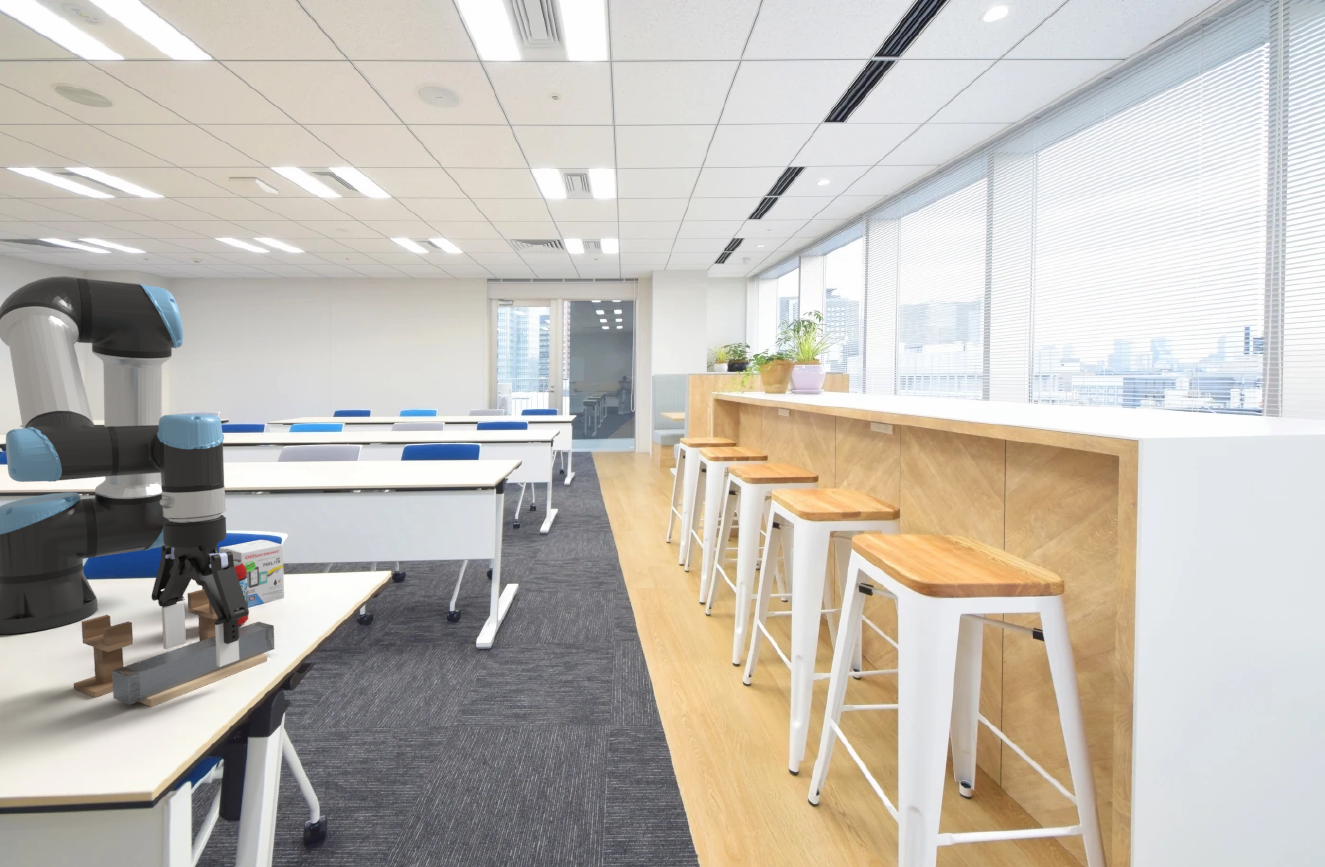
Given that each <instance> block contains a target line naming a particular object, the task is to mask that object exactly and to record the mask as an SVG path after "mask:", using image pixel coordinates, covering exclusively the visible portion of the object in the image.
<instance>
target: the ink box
mask: <svg viewBox="0 0 1325 867" xmlns="http://www.w3.org/2000/svg"><path fill="white" fill-rule="evenodd" d="M229 551H230V552H232V554H233V559H239V560H241V561H242V563H243V565H244V566H245V567H246V569H247V592H248V608H251V607H255V606H258V605H262V604H266V603H269V602H273V601H277V600H280V599H284V598H285V580H284V578H285V577H284V576H285V575H284V545H283V544H281V543H277V542H274V541H271V540H266V539H258V540H252V541H248V542H242V543H237V544H232V545H227V546H221V547H219V548H218V552H219V553H225V552H229Z"/></svg>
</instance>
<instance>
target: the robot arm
mask: <svg viewBox="0 0 1325 867" xmlns="http://www.w3.org/2000/svg"><path fill="white" fill-rule="evenodd" d="M183 328H184V327H183V322H182V316H181V313H180V309H179V305H178V303H177V301H176V299H175V297H174V296H173V294H172V293H171V292H170V291H169V290H167V289H166V288H163V287H159V286H153V285H149V284H142V283H133V282H123V281H122V282H121V281H113V280H103V279H100V280H99V279H92V278H91V279H90V278H89V279H88V278H80V277H76V276H63V275H62V276H50V277H45V278H41V279H36V280H35V281H31V282H29V283H26V284H25V285H22V286H21V287H19V288H18V289H16V290H15V291H13V292H12V293H11V294H10V295H8V296H7V298H5V299H4V301H3V303H2V304H1V305H0V340H1V341H2V342H3V344H4V345H6V346H8V348H9V352H10V353H9V354H10V359H11V360H10V361H11V366H12V372H13V377H14V383H15V384H14V385H15V390H16V396H17V402H18V407H19V408H18V409H19V414H20V420H21V426H22V428H15V429H14V428H13V429H10V430H8V431H7V432H6V435H5V454H6V455H5V456H6V461H7V463H6V464H7V471H8V475H9V477H10V478H11V479H12V480H13V481H15V482H19V483H23V482H25V483H26V482H27V483H29V482H31V483H32V482H33V483H34V482H57V481H67V480H68V481H69V480H82V479H92V478H103V477H104V478H105V480H104V481H103V482H101V483H100V484H98V485H97V486H96V487H95V489H94V497H91V498H81V496H80V494H79V493H78V492H75V491H74V492H73V491H68V492H67V491H66V492H59V493H49V494H43V495H37V496H31V497H28V498H27V497H26V498H22V499H18V500H14V501H11V502H8V503H4V504H2V505H0V635H13V634H21V633H22V634H23V633H30V632H32V633H33V632H37V631H44V630H47V629H49V630H50V629H54V628H57V627H61V626H66V625H69V624H72V623H75V622H78V621H81V620H85V619H86V618H88V617H90V616H92V615H94V614H95V613H96V612H97V611H99V610H98V608H99V606H98V599H97V598H98V597H97V596H96V594H95V592H94V590H93V589H92V586H91V584H90V583H89V581H88V579H87V577H86V575H85V573H84V559H91V558H97V557H102V556H103V557H104V556H111V555H118V554H126V553H132V552H133V553H134V552H139V551H148V550H151V549H156V548H160V561H159V565H158V569H157V573H156V577H155V581H154V585H153V588H152V591H151V592H152V593H151V597H150V598H151V600H152V601H153V602H154V601H157V603H158V606H159V607H161V624H162V642H163V643H162V645H163V649H164V650H170V649H173V648H176V647H178V646H182V645H184V644H186V643H187V637H186V636H187V634H186V616H185V615H186V614H185V603H184V602H183V601H185V600H186V599H185V597H184V594H185V592H186V590H187V588H188V586H189V585H190V582H191V580H193V581H195V583H196V585H197V586H201V588H202V587H203V589H204V591H205V593H206V595H207V597H208V599H209V601H210V603H211V605H212V607H213V609H214V611H215V613H216V615H217V617H218V619H217V620H216V622H215V623H214V624H215V633H216V658H217V666H218V667H221V666H224V665H226V664H229V663H232V662H234V661H237V660H239V634H238V633H239V630H238V628H239V627H238V620H239V618H241V617H244V616H247V615H248V616H249V615H250V611H249V607H247V604H246V601H245V598H244V595H243V592H242V589H241V586H240V583H239V580H238V577H237V574H236V571H235V568H234V561H233V554H232V552H230V551H229V552H225V553H219V548H218V544H220V542H222V541H224V540H226V538H227V517H226V516H225V515H223V514H224V513H225V512H226V511H227V510H226V509H227V508H226V492H225V491H226V487H225V478H224V477H225V475H224V474H225V472H224V471H225V468H224V464H225V462H224V440H225V436H224V434H223V427H222V420H221V418H220V417H219V416H218V415H216V414H211V413H210V414H209V413H208V414H207V413H178V414H177V413H176V414H175V413H174V414H166V415H162V411H163V410H162V409H163V408H162V403H163V402H162V401H163V400H162V397H163V396H162V393H163V391H162V389H163V388H162V383H163V381H162V379H163V378H162V377H163V376H162V374H163V373H162V372H163V371H162V370H163V368H162V367H163V364H164V363H166V362H167V361H168V360H170V359H172V351H173V350H172V349H177V348H181V347H182V346H183V342H184V341H183V340H184V330H183ZM76 343H78V344H79V343H83V344H91V351H92V354H93V355H94V356H95V357H97V358H99V359H100V360H101V362H102V363H103V407H104V408H103V410H104V411H103V412H104V413H103V414H104V417H103V418H104V423H103V424H104V426H102V425H101V426H95V424H94V421H93V420H94V419H93V416H92V412H91V408H90V403H89V399H88V396H87V392H86V388H85V383H84V380H83V376H82V372H81V368H80V363H79V360H78V356H77V351H76V347H75V345H76Z"/></svg>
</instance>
